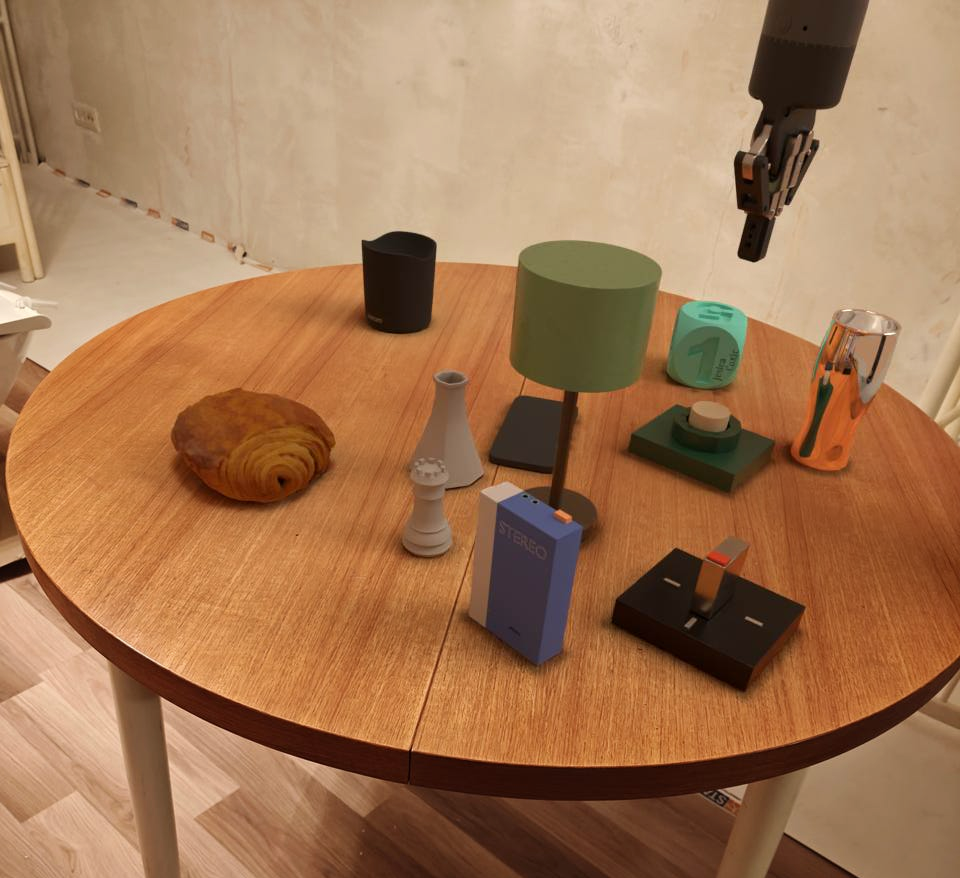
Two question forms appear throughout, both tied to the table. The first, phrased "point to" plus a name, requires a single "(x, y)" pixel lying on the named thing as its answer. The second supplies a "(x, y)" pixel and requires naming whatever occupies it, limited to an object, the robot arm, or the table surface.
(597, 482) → the table surface
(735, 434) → the switch base
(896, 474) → the table surface
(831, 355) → the chrome tumbler
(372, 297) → the pen holder
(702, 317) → the decorative dice
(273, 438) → the croissant
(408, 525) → the rook chess piece
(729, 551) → the dimmer knob
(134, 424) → the table surface
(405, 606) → the table surface
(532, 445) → the phone
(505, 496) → the walkman
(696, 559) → the panel
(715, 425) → the button
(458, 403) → the flask
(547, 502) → the table lamp
